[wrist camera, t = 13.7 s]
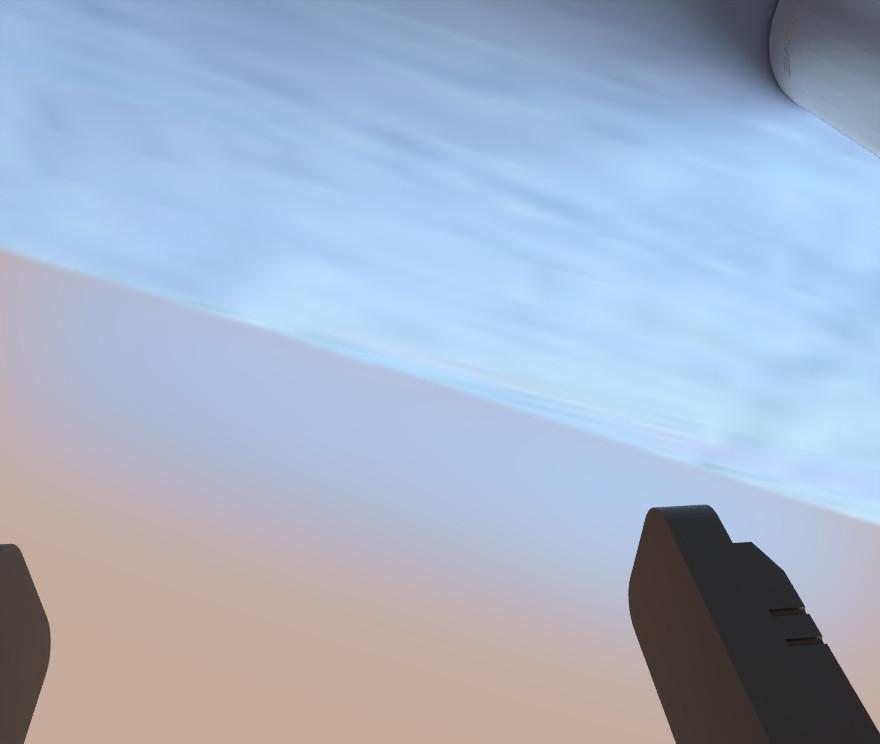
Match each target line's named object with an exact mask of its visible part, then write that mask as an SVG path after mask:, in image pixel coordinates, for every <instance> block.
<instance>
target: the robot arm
mask: <svg viewBox="0 0 880 744" xmlns="http://www.w3.org/2000/svg"><path fill="white" fill-rule="evenodd" d="M769 56H770V63H771V66H772V70H773V74H774V77H775V79H776V80H777V82H778V84H779V86H780V87H781V89H782V91H783V92H784V93H785V94H786V95H787V96H788V97H789V98H790V99H791V100H792V101H793V102H795V103H796V104H798V105H799V106H801V107H802V108H804V109H805V110H807V111H808V112H810V113H812V114H813V115H815V116H816V117H818V118H819V119H821V120H822V121H824V122H825V123H827V124H828V125H829V126H831V127H832V128H834V129H835V130H837V131H838V132H840V133H841V134H843V135H844V136H846V137H847V138H849V139H850V140H852V141H853V142H855V143H857V144H858V145H860V146H861V147H863V148H864V149H866V150H867V151H869V152H870V153H872V154H873V155H875V156H876V157H878V158H879V159H880V0H779V1H778V4H777V7H776V10H775V13H774V16H773V19H772V24H771V30H770V36H769ZM628 595H629V609H630V615H631V620H632V624H633V627H634V630H635V633H636V636H637V638H638V641H639V644H640V647H641V649H642V652H643V655H644V657H645V660H646V663H647V666H648V668H649V671H650V674H651V677H652V679H653V682H654V685H655V687H656V690H657V693H658V696H659V698H660V701H661V704H662V706H663V709H664V712H665V715H666V717H667V720H668V723H669V725H670V728H671V731H672V733H673V736H674V739H675V741H676V744H880V733H879V731H878V730H877V728H876V726H875V725H874V723H873V721H872V720H871V718H870V716H869V715H868V713H867V711H866V709H865V708H864V706H863V704H862V703H861V701H860V699H859V697H858V696H857V694H856V692H855V691H854V689H853V687H852V686H851V684H850V682H849V681H848V679H847V677H846V675H845V674H844V672H843V670H842V669H841V667H840V665H839V664H838V662H837V660H836V658H835V657H834V655H833V653H832V652H831V650H830V648H829V647H828V645H827V644H824V643H823V641H822V635H821V633H820V632H819V630H818V628H817V626H816V625H815V623H814V621H813V619H812V618H811V616H810V614H806V612H805V606H804V604H803V603H802V601H801V599H800V597H799V596H798V594H797V592H796V590H795V589H794V587H793V585H792V584H791V582H790V580H789V579H788V577H787V575H786V574H785V572H784V571H783V570H782V569H781V568H780V567H779V566H778V565H776V564H775V563H774V562H773V561H772V560H771V559H770V558H769V557H768V556H767V555H765V554H764V553H763V552H762V551H761V550H760V549H759V548H757V547H756V546H755V545H754V544H753V543H752V542H744V543H732V541H731V539H730V537H729V535H728V533H727V532H726V530H725V528H724V526H723V524H722V522H721V521H720V519H719V517H718V515H717V514H716V512H715V511H714V510H713V508H711V507H710V506H708V505H689V506H672V507H656V508H651V509H650V510H649V511H648V513H647V515H646V518H645V522H644V526H643V530H642V534H641V539H640V542H639V546H638V550H637V554H636V558H635V562H634V566H633V569H632V573H631V577H630V582H629V593H628ZM50 640H51V639H50V628H49V622H48V619H47V617H46V614H45V612H44V609H43V606H42V604H41V601H40V599H39V596H38V594H37V591H36V588H35V586H34V583H33V581H32V578H31V575H30V573H29V570H28V568H27V566H26V563H25V560H24V558H23V555H22V553H21V551H20V549H19V548H18V547H17V546H16V545H14V544H0V744H24V741H25V738H26V734H27V732H28V729H29V725H30V722H31V719H32V716H33V713H34V710H35V707H36V704H37V700H38V697H39V694H40V691H41V688H42V685H43V682H44V678H45V675H46V672H47V668H48V663H49V657H50V645H51V644H50V642H51V641H50Z"/></svg>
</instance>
